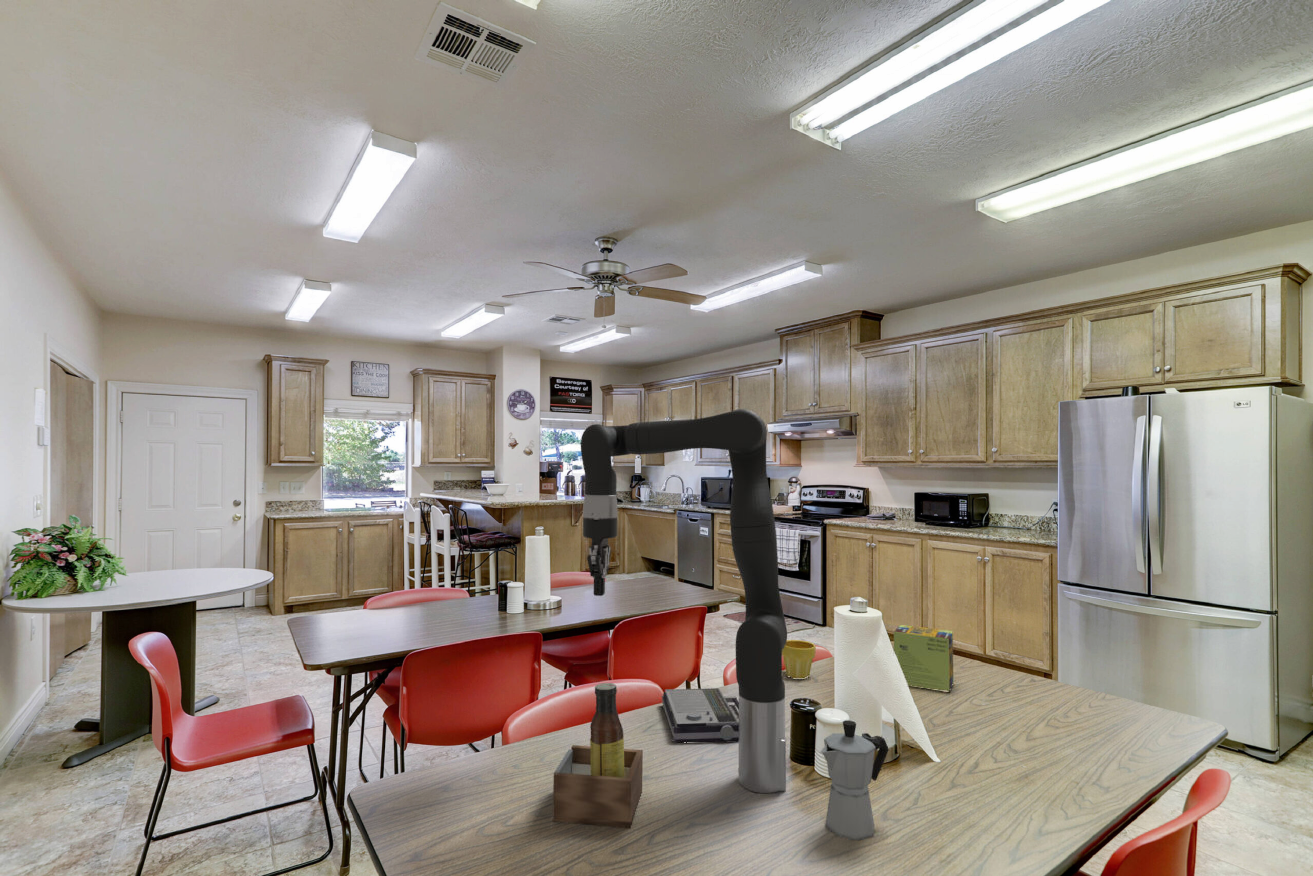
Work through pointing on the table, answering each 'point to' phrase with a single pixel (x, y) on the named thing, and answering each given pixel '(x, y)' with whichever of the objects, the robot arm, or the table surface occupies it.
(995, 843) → the table surface
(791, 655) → the plant pot
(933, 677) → the protein box
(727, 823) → the table surface
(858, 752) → the coffee maker
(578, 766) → the tray
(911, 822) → the table surface
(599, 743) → the sauce bottle
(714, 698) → the radio
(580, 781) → the caddy
